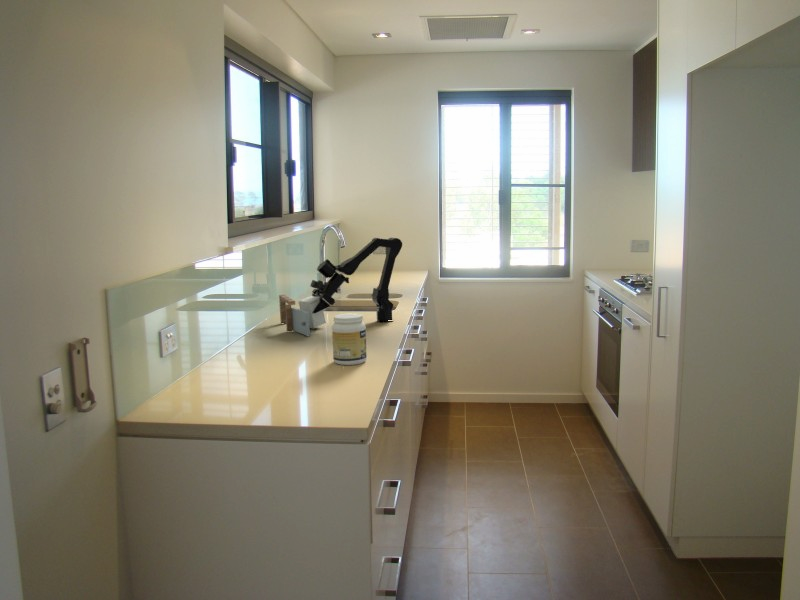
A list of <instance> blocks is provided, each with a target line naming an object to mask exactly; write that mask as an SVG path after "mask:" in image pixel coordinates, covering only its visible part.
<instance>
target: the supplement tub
mask: <svg viewBox="0 0 800 600" xmlns="http://www.w3.org/2000/svg"><path fill="white" fill-rule="evenodd" d="M363 317H364V315H363V314H361V313H355V312H354V313H341V314H339V313H338V314H336V315H333V322H334V323H333V324H332V325H331V335H332V355H333V356H332V359H333V362H334V363H335V364H337V365H341V366H354V365H359V364H363V363H365V362H366V361H367V359H368V358H367V356H368V354H367V335H366V334H367V333H366V332H367V330H366V324H365V322H364V318H363Z"/></svg>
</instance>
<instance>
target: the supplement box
mask: <svg viewBox="0 0 800 600" xmlns="http://www.w3.org/2000/svg"><path fill="white" fill-rule="evenodd" d="M318 303H319V297H314V296H311V295H310V296H308V297H305V298H303V299H300V300H299V301H298V306H299V309H300V310H303V311H306V312H309V329H316V328H318V327H320V326H322V325H324V324H326V317H325V313H324V309H323V310H321V311H319V312H317V313H313V311H314V309H315V308H316V306H317V305H318Z"/></svg>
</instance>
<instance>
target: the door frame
mask: <svg viewBox="0 0 800 600" xmlns="http://www.w3.org/2000/svg"><path fill="white" fill-rule="evenodd" d="M278 299H279V301H278V302H279V314H280V315H279V316H280V324H281V323H286V324H285V325H286V332H287V331H293V330H292V313H291V308H292V306H294V305H296V300H294V299H292V298H291V297H289V296H287V295H285V294H279V295H278Z"/></svg>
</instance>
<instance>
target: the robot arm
mask: <svg viewBox="0 0 800 600" xmlns="http://www.w3.org/2000/svg"><path fill="white" fill-rule="evenodd" d="M380 247H381V248H384V249H385V259H384V262H383V263H384V264H383V268H382V271H381V275H380V279H379V283H378V286H377V287H373V289H372V294H371V298H372V302H373V303H374V304H375V306H376V307H377V311H376V321H378V322H379V321H388V320H393V308H394V303H393V302H392V301H391V300H390V292H389V291H390V289H389V286H390V281H391V278H392V273H393V269H394V267H395V266H394V265H395V262H396V258H397V257H398V255H399V254H400V252H401V249H402V247H403V241H402V240H401V239H400V238H396V237H389V238H380V237H373V238H372V239H371V241H370V242H368V243H367V244H366V245H365V246H364V247H362V249H361V250H359V251H358V252H357V253H356V254H354V255H353V256H352V257H350V258H348V259H346V260H344V261H343V262H341V263H340V264H338V265H334V264H333V263H332V262H331V261H330V260H329V259H327V258H326V259H324V261H322V262H321V263H319V265H318V266H317V267H316V271H317V272H318V273H320V274H321V276H323V277H324V278H326V279H329V280H328V281H325V282H324V281H323V280H319V279H318V280H314V279H312V280H311V283H310V284H309V287H311V288H313V289H312V291H311V295H312V296H314V297H319V303H318V305H317V306H316V308H315V309H314V311H313V313H317V312H319V311H321V310H323V311H324V310H325V309H327V308H329V307H331V306H333V305H334V304H335V302H336V301H335V298H333V296H334V294H335V293H336V294H337V293H338V290H339V289H340V287H341V286H342V285H343V284H344V283H345V284H349V283H350V281H349V280H350V279H349V278H350V277H348V276H351V275H353V274H354V273H355V272H356V270H357V269H358V268H359V266H360V265H361V263H362V262H364V261H365V260H366V259H367V258H368V257H369V256H371V254H373V253H374V252H376V250H377V249H379V248H380Z"/></svg>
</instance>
